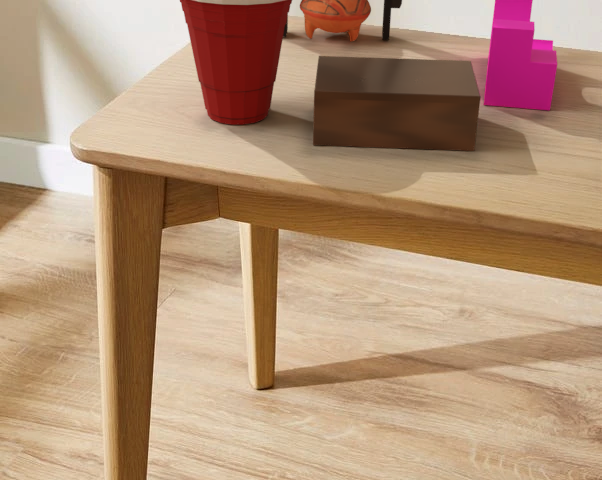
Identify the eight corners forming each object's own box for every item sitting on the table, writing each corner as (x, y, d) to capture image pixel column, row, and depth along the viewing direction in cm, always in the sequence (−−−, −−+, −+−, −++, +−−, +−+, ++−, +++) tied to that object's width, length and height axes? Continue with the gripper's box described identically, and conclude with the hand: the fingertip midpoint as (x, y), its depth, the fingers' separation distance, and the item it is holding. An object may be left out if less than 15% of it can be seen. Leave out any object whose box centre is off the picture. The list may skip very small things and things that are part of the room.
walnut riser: (465, 112, 92) (471, 60, 89) (474, 151, 85) (480, 96, 82) (317, 106, 93) (318, 55, 90) (312, 145, 85) (314, 90, 82)
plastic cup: (304, 96, 95) (306, -31, 89) (286, 139, 86) (287, 2, 80) (195, 88, 96) (190, -37, 90) (166, 130, 87) (158, -5, 81)
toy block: (549, 110, 93) (562, 32, 89) (483, 104, 94) (492, 27, 90) (547, 59, 105) (558, -11, 101) (488, 55, 106) (497, -15, 102)
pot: (300, 20, 114) (315, -37, 111) (363, 41, 114) (380, -16, 111) (286, 39, 108) (302, -21, 104) (353, 61, 108) (371, 1, 104)
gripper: (454, -183, 101) (435, 27, 113) (231, -188, 102) (235, 21, 114) (460, -173, 95) (439, 48, 107) (222, -179, 96) (228, 41, 108)
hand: (334, 34), depth 111 cm, fingers open, 11 cm apart
